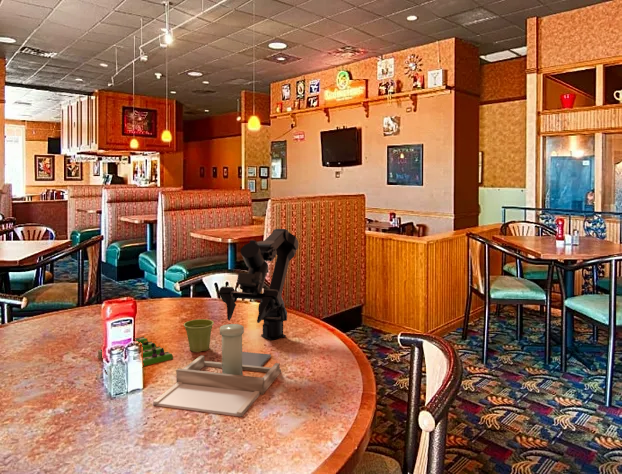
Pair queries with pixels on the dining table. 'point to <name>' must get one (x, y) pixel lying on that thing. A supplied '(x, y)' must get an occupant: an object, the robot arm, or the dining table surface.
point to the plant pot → (199, 334)
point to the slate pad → (254, 358)
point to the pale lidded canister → (232, 348)
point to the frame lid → (207, 399)
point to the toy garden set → (149, 352)
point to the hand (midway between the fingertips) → (243, 321)
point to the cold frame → (227, 376)
